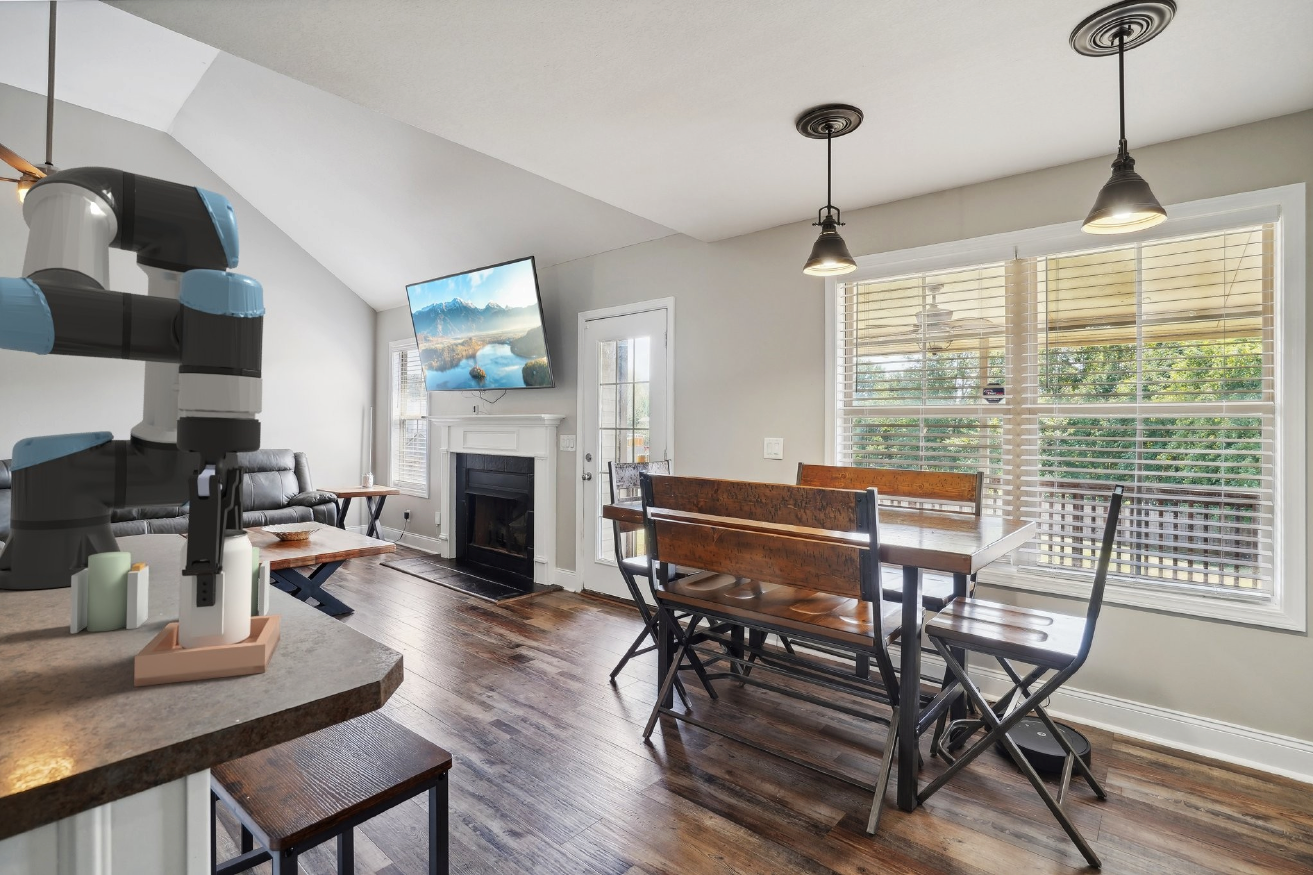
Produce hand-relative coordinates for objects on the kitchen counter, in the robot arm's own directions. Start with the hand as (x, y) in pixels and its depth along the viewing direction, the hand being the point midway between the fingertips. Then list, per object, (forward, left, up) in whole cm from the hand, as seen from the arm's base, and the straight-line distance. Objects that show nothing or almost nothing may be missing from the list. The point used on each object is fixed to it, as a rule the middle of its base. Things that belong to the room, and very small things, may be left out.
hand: (215, 624), depth 69 cm
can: (0, 0, -2) cm, 2 cm away
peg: (-17, -15, -4) cm, 23 cm away
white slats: (-17, -8, -4) cm, 19 cm away
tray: (0, 0, -4) cm, 4 cm away
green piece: (-17, -1, -4) cm, 17 cm away
